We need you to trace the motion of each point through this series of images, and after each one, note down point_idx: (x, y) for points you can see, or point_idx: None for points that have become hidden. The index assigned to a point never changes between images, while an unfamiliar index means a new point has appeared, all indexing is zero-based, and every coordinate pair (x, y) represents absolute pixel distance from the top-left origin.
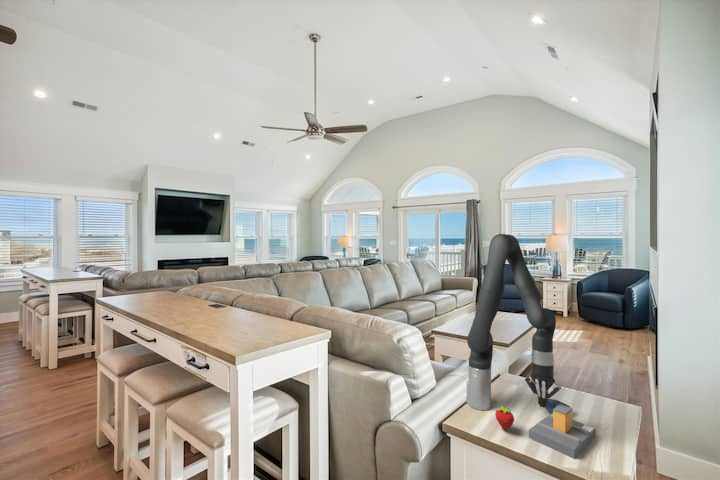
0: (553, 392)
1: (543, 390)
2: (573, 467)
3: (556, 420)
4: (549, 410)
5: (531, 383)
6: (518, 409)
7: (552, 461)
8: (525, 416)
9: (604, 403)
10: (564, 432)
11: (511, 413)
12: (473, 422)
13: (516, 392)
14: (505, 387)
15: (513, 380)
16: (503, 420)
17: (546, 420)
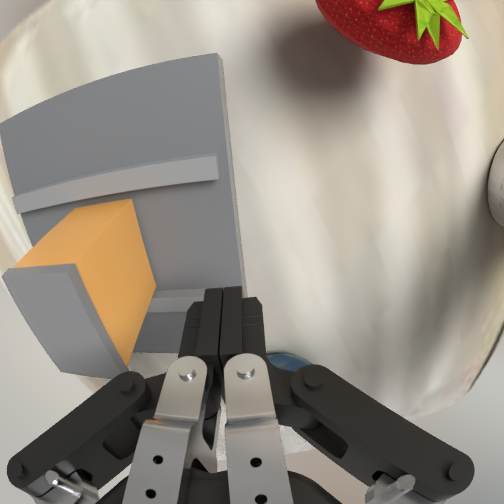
0: (56, 439)
1: (158, 445)
2: (6, 67)
3: (87, 229)
4: (284, 359)
5: (377, 467)
6: (396, 284)
7: (56, 13)
8: (351, 255)
9: (217, 451)
10: (74, 209)
11: (366, 9)
12: (471, 8)
13: (425, 368)
14: (457, 362)
15: (438, 399)
16: None
17: (220, 260)
